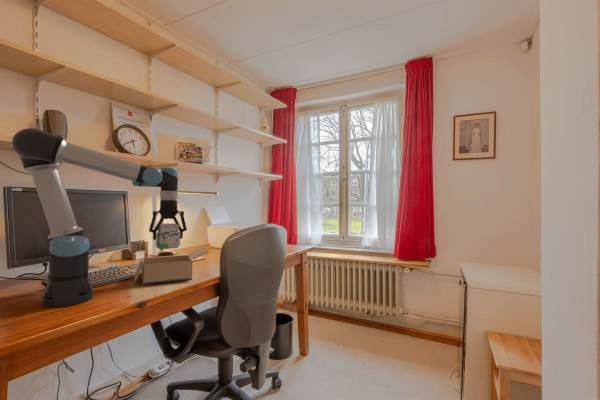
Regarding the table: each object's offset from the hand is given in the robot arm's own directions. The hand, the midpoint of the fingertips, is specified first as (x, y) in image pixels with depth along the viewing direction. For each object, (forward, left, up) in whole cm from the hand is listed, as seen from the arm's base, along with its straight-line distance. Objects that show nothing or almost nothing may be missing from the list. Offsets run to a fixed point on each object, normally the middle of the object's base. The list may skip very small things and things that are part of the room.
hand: (167, 245), depth 141 cm
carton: (-2, 0, -16) cm, 16 cm away
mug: (+2, +15, -16) cm, 22 cm away
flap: (+10, 0, -6) cm, 12 cm away
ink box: (0, 0, -1) cm, 1 cm away
